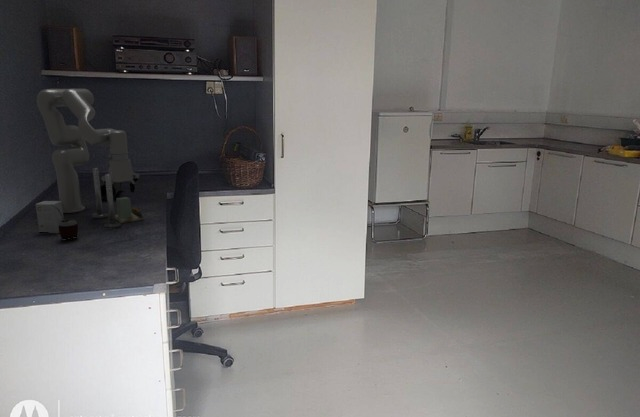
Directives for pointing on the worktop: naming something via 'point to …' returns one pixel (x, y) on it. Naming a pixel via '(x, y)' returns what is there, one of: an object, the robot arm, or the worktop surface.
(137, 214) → the breaker board
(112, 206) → the near post
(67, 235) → the mate gourd
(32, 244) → the worktop surface
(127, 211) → the green block
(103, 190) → the muzzle brake
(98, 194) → the far post
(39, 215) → the small box
